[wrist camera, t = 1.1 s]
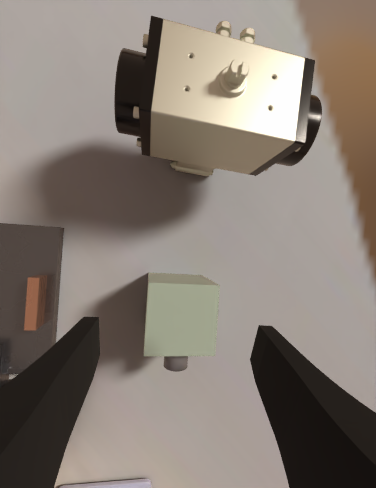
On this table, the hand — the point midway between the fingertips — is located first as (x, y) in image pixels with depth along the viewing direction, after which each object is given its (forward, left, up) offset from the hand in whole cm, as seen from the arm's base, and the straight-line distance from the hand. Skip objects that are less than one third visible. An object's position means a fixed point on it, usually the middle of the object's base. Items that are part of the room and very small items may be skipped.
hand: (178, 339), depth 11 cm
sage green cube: (-1, -1, -12) cm, 12 cm away
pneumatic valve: (+13, -2, -12) cm, 18 cm away
